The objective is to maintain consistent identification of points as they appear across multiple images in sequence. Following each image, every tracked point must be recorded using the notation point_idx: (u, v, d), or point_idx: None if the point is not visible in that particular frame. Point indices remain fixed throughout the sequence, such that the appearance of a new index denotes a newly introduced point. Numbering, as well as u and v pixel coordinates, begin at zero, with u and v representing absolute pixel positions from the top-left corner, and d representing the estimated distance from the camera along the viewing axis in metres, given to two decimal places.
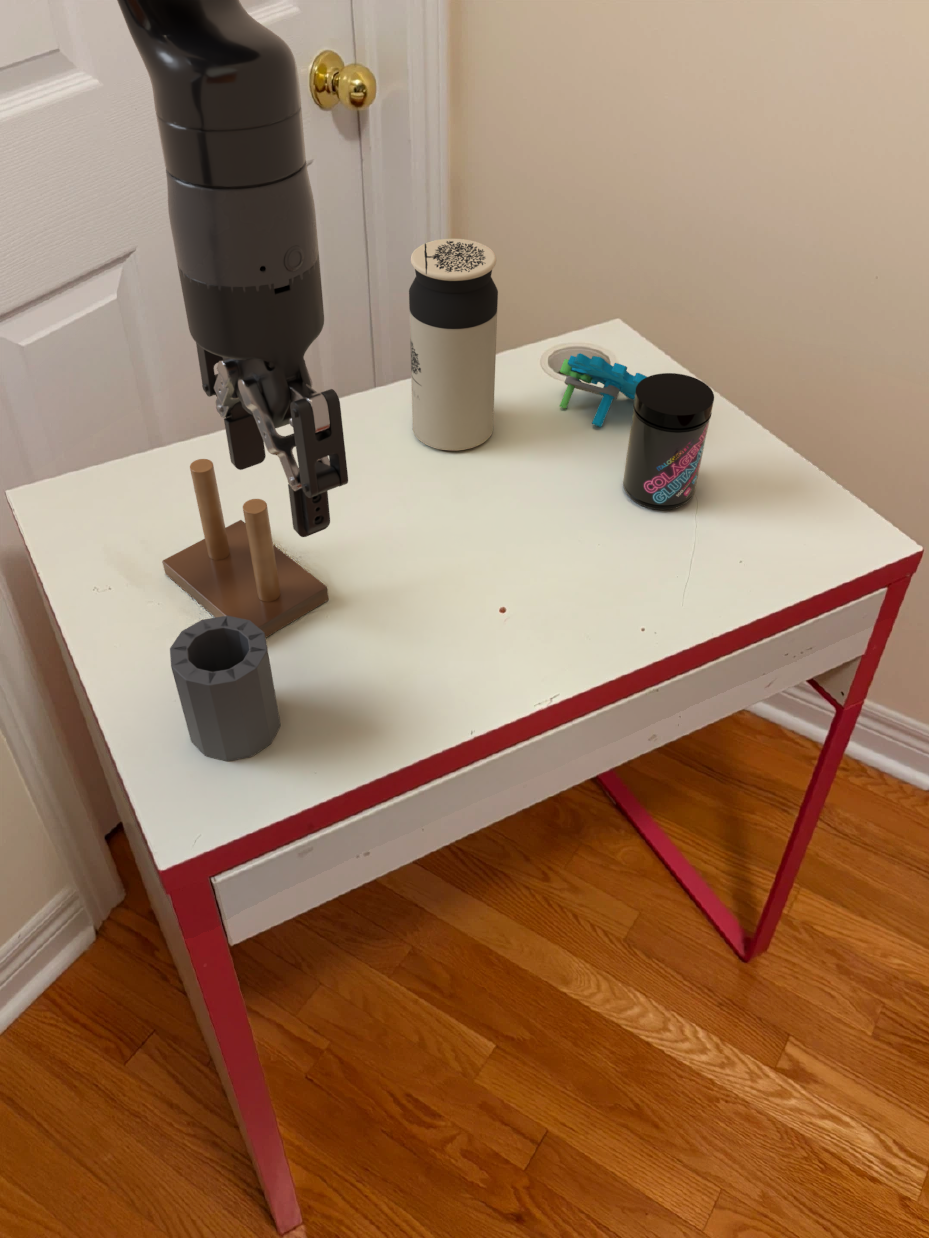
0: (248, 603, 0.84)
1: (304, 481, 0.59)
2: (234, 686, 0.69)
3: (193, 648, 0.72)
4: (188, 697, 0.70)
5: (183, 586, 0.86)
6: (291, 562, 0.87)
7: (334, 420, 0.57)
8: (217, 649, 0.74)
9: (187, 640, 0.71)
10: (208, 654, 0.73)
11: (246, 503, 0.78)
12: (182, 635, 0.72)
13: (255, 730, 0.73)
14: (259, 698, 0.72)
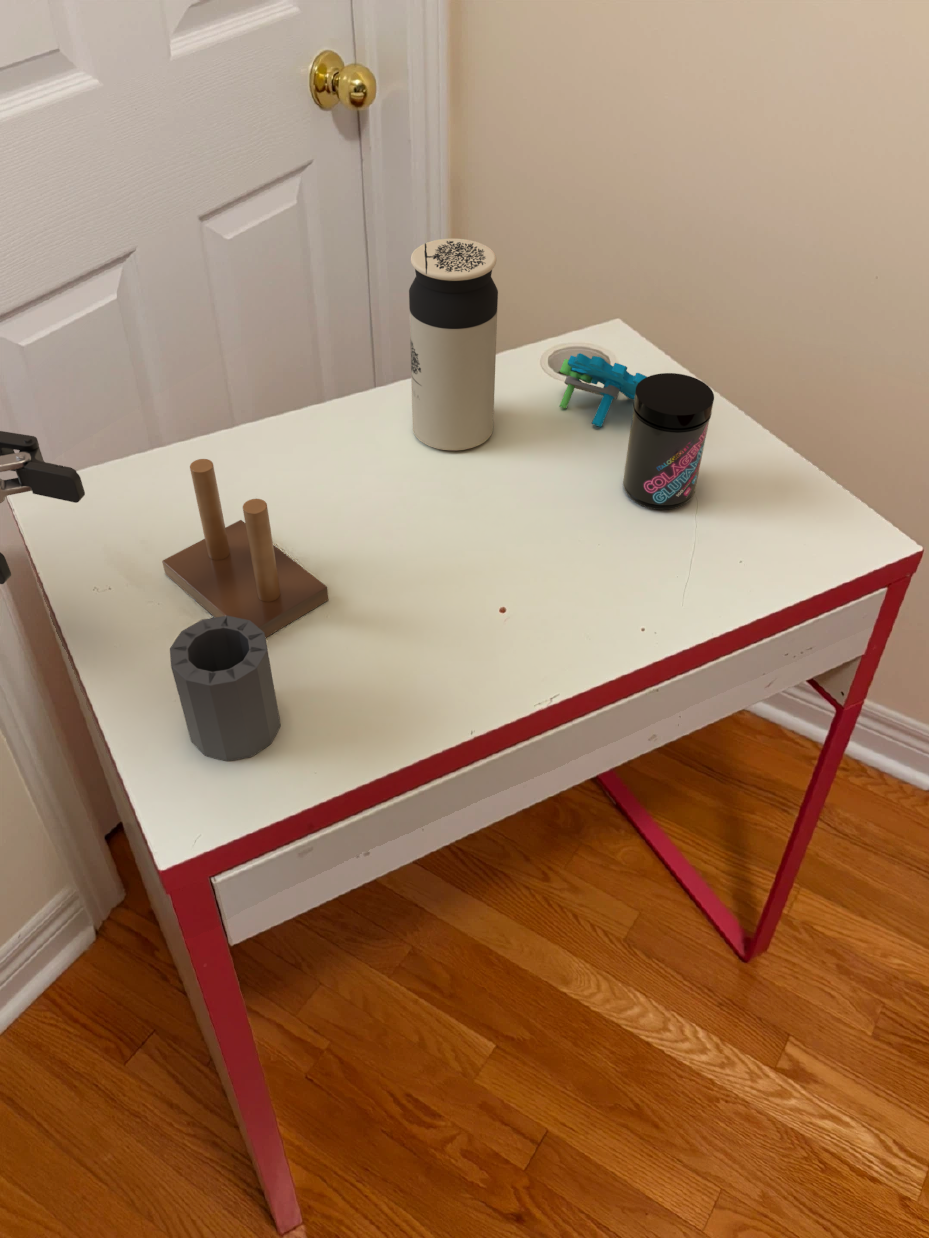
0: (248, 603, 0.84)
1: (22, 440, 0.72)
2: (234, 686, 0.69)
3: (193, 648, 0.72)
4: (188, 697, 0.70)
5: (183, 586, 0.86)
6: (291, 562, 0.87)
7: None
8: (217, 649, 0.74)
9: (187, 640, 0.71)
10: (208, 654, 0.73)
11: (246, 503, 0.78)
12: (182, 635, 0.72)
13: (255, 730, 0.73)
14: (259, 698, 0.72)
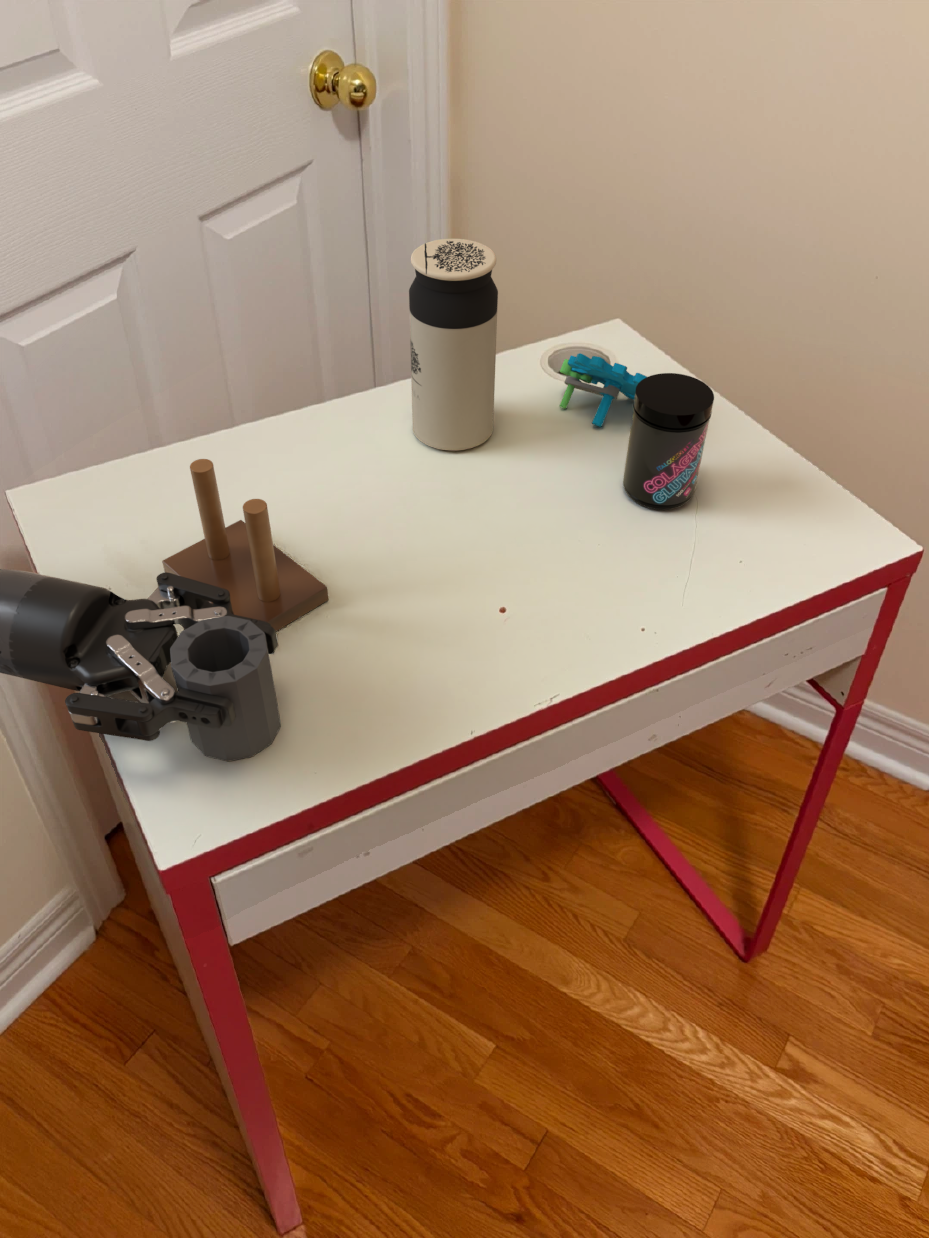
0: (248, 603, 0.84)
1: (215, 593, 0.76)
2: (234, 686, 0.69)
3: (193, 648, 0.72)
4: None
5: None
6: (291, 562, 0.87)
7: None
8: (217, 649, 0.74)
9: (187, 640, 0.71)
10: (208, 654, 0.73)
11: (246, 503, 0.78)
12: (182, 635, 0.72)
13: (255, 730, 0.73)
14: (259, 698, 0.72)
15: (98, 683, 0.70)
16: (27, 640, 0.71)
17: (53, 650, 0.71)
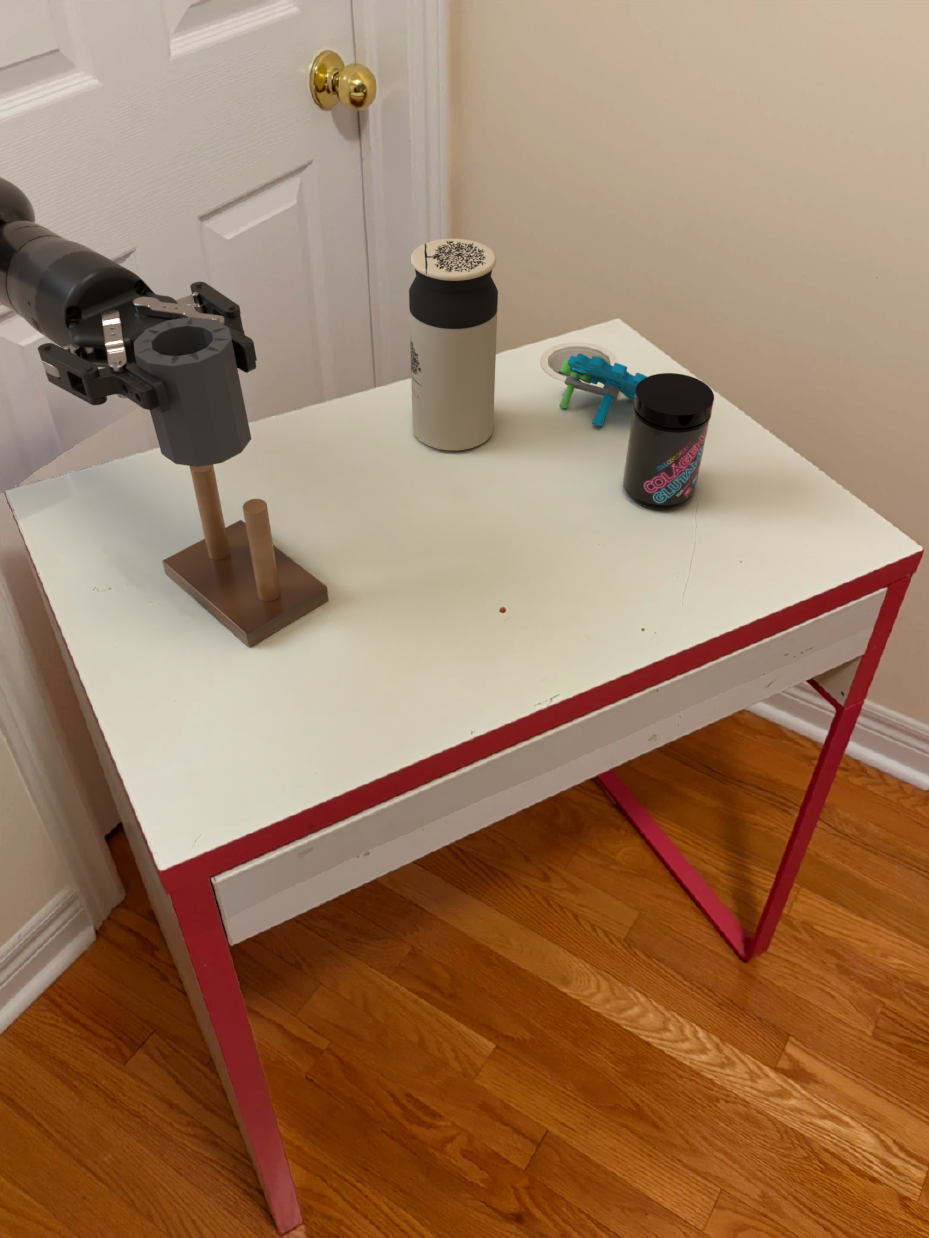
0: (248, 603, 0.84)
1: (227, 306, 0.75)
2: (172, 372, 0.68)
3: (168, 338, 0.72)
4: None
5: (183, 586, 0.86)
6: (291, 562, 0.87)
7: None
8: (198, 351, 0.73)
9: (164, 328, 0.72)
10: (189, 354, 0.73)
11: (246, 503, 0.78)
12: (164, 323, 0.72)
13: (200, 437, 0.72)
14: (204, 400, 0.70)
15: (80, 345, 0.73)
16: (46, 294, 0.75)
17: (59, 307, 0.74)
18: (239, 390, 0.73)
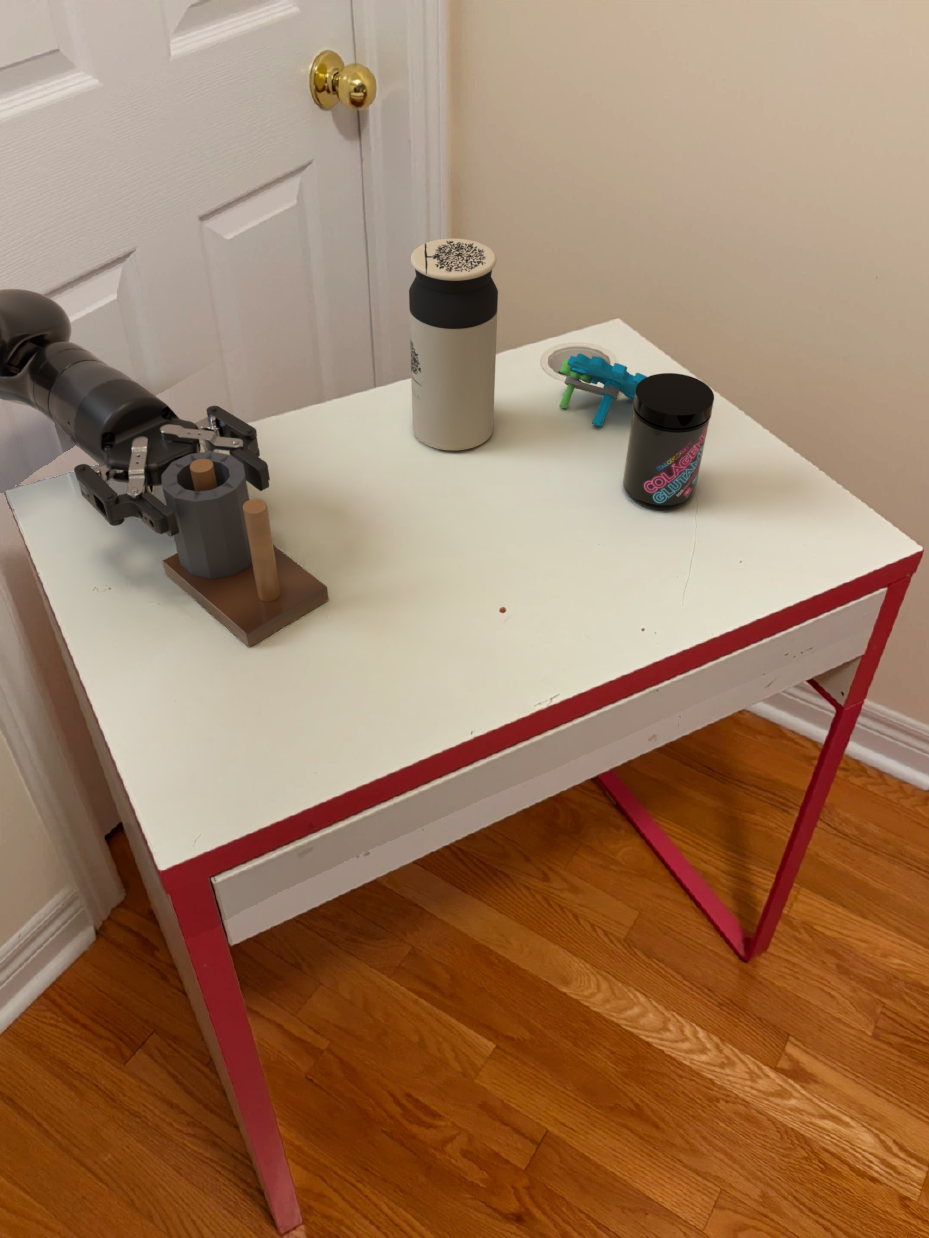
0: (248, 603, 0.84)
1: (245, 429, 0.88)
2: (194, 506, 0.80)
3: None
4: (166, 505, 0.83)
5: (183, 586, 0.86)
6: (291, 562, 0.87)
7: None
8: None
9: (187, 461, 0.84)
10: None
11: (246, 503, 0.78)
12: (187, 457, 0.84)
13: (215, 556, 0.84)
14: (219, 528, 0.82)
15: (113, 468, 0.85)
16: (84, 419, 0.87)
17: (96, 432, 0.86)
18: None
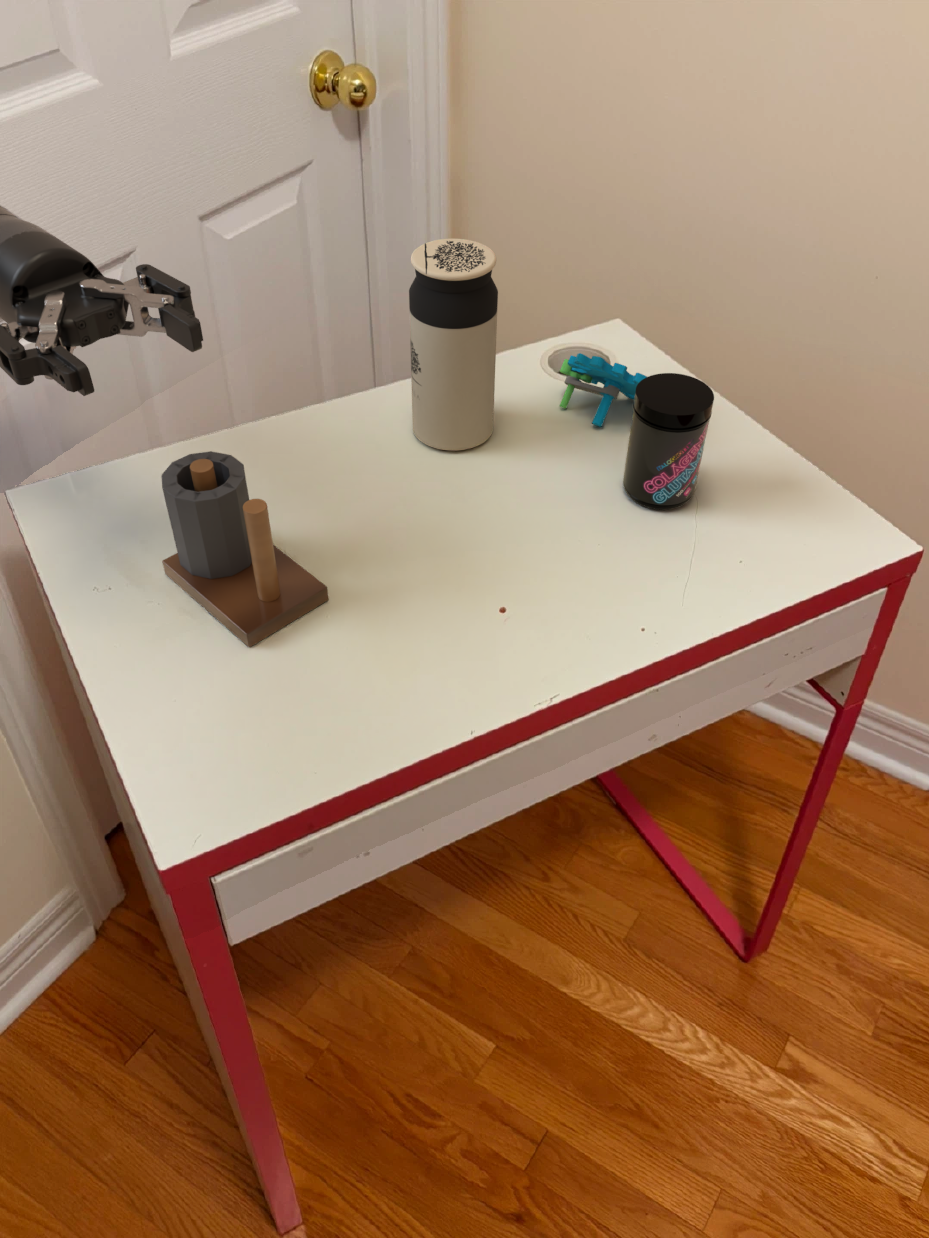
0: (248, 603, 0.84)
1: (177, 286, 0.77)
2: (194, 506, 0.80)
3: None
4: (166, 505, 0.83)
5: (183, 586, 0.86)
6: (291, 562, 0.87)
7: None
8: None
9: (187, 461, 0.84)
10: None
11: (246, 503, 0.78)
12: (187, 457, 0.84)
13: (215, 556, 0.84)
14: (219, 528, 0.82)
15: (24, 324, 0.74)
16: None
17: (6, 286, 0.76)
18: None
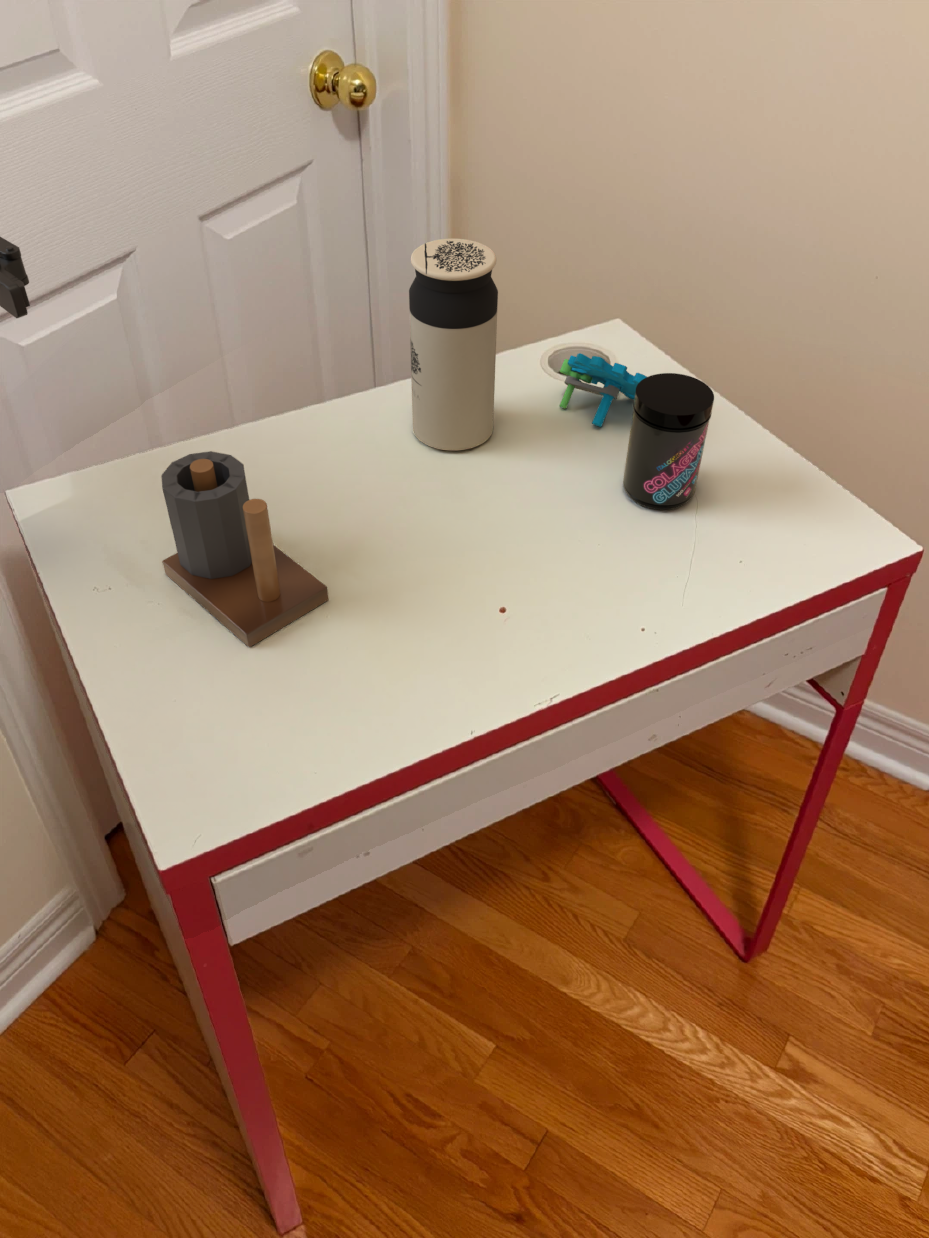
0: (248, 603, 0.84)
1: (6, 248, 0.71)
2: (194, 506, 0.80)
3: None
4: (166, 505, 0.83)
5: (183, 586, 0.86)
6: (291, 562, 0.87)
7: None
8: None
9: (187, 461, 0.84)
10: None
11: (246, 503, 0.78)
12: (187, 457, 0.84)
13: (215, 556, 0.84)
14: (219, 528, 0.82)
15: None
16: None
17: None
18: None
